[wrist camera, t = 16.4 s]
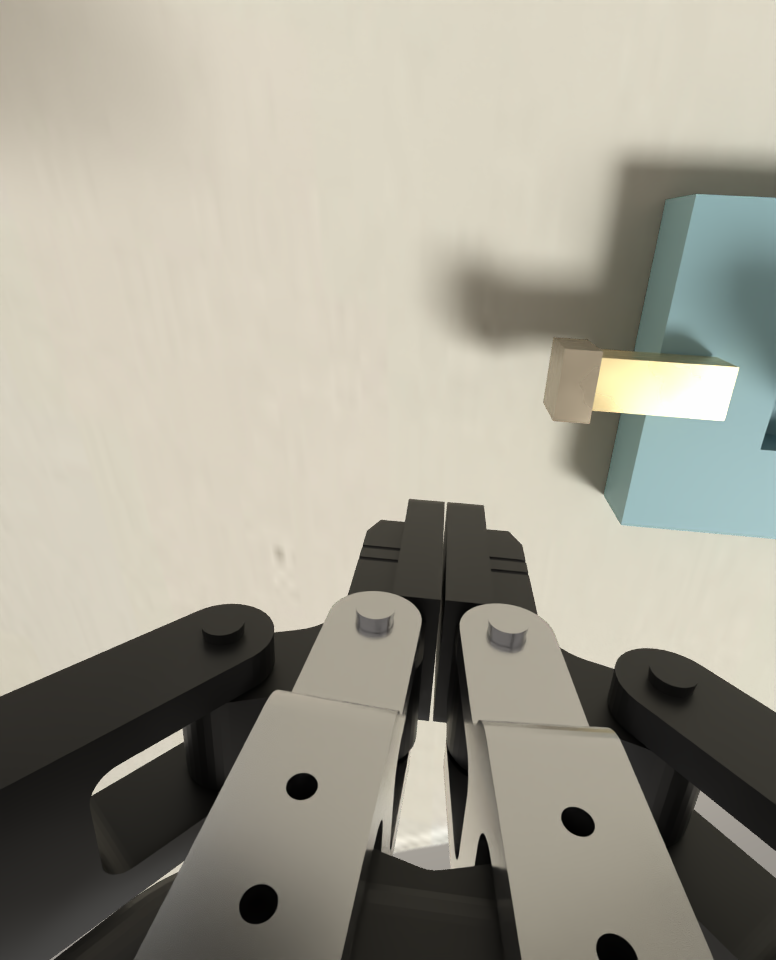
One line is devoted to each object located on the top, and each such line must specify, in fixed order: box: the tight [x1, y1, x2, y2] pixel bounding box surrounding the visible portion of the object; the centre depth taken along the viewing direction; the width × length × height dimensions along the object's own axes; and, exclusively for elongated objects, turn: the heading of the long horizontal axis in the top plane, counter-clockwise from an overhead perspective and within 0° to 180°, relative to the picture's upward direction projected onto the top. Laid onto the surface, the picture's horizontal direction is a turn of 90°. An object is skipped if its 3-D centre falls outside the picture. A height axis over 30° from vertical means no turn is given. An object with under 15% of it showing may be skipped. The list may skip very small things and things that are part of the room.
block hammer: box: [543, 337, 739, 424], centre depth 27 cm, size 3×8×3 cm, turn 87°
